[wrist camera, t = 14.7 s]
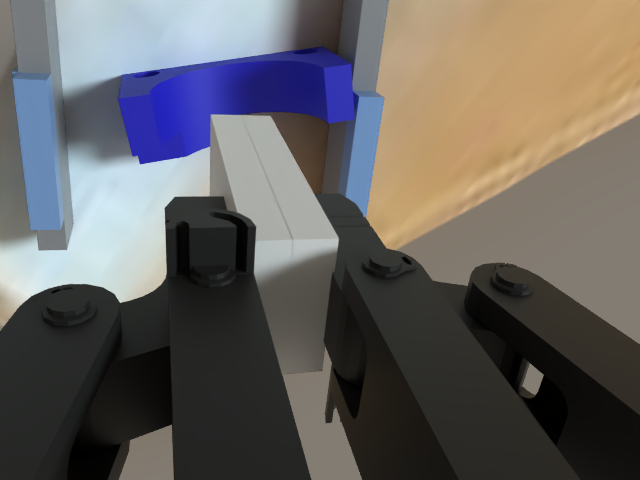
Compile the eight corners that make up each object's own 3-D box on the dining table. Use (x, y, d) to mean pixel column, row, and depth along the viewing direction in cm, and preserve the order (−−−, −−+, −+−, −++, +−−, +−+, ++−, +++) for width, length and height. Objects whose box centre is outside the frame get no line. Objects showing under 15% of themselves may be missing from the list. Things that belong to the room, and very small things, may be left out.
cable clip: (140, 147, 36) (139, 183, 31) (122, 74, 34) (117, 98, 29) (328, 116, 38) (356, 145, 33) (321, 45, 36) (351, 64, 31)
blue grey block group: (-8, -237, 27) (-38, -270, 22) (389, -165, 32) (427, -180, 28) (42, 224, 37) (28, 262, 32) (338, 221, 42) (360, 254, 38)
